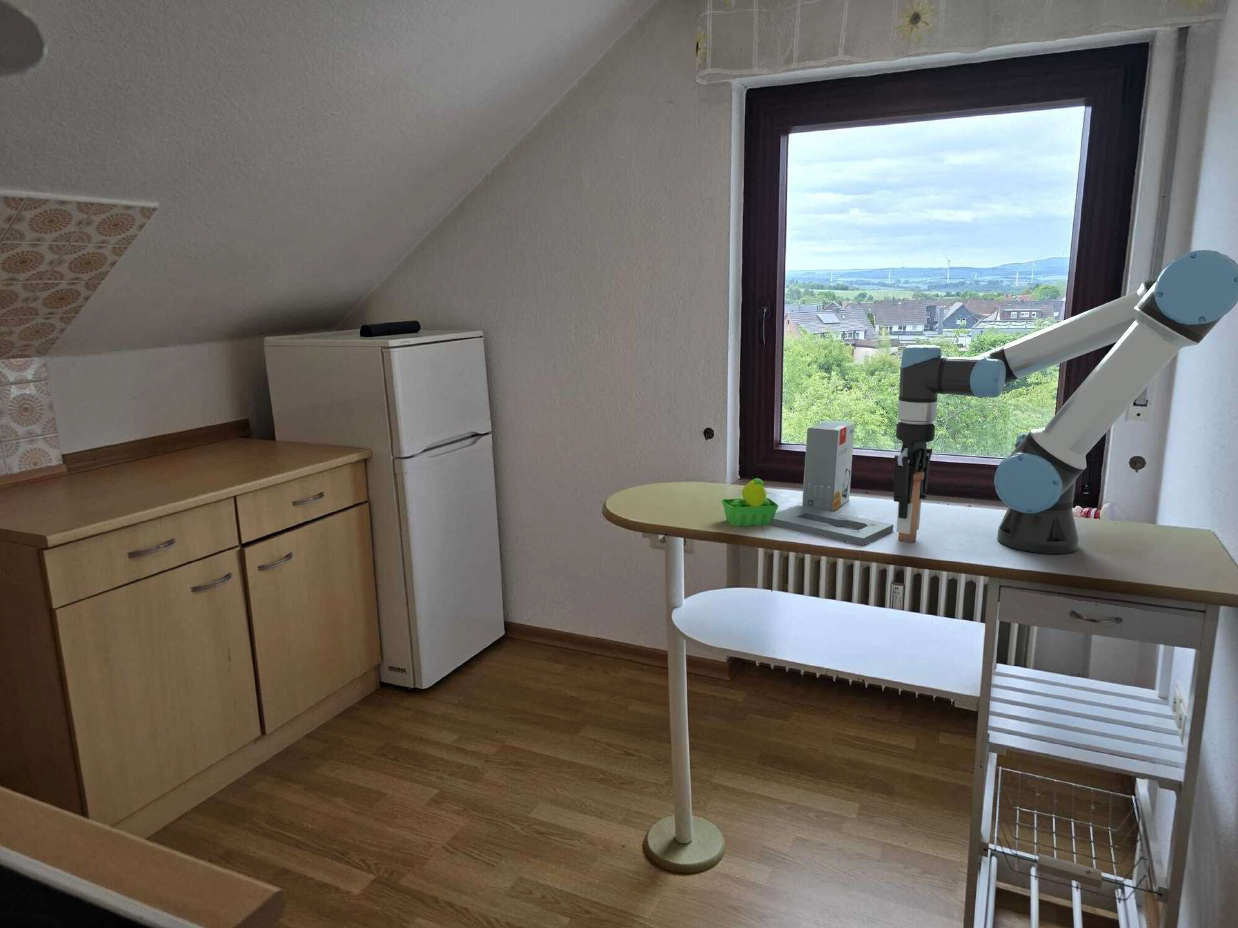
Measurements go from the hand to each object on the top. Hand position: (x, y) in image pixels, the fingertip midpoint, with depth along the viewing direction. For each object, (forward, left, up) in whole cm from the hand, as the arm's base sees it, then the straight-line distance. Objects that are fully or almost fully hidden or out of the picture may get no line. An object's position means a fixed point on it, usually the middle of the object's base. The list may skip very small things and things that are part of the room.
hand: (907, 530), depth 178 cm
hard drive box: (+27, -15, -2) cm, 31 cm away
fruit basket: (+32, +12, -3) cm, 34 cm away
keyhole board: (+17, +3, -2) cm, 17 cm away
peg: (0, 0, -2) cm, 2 cm away
